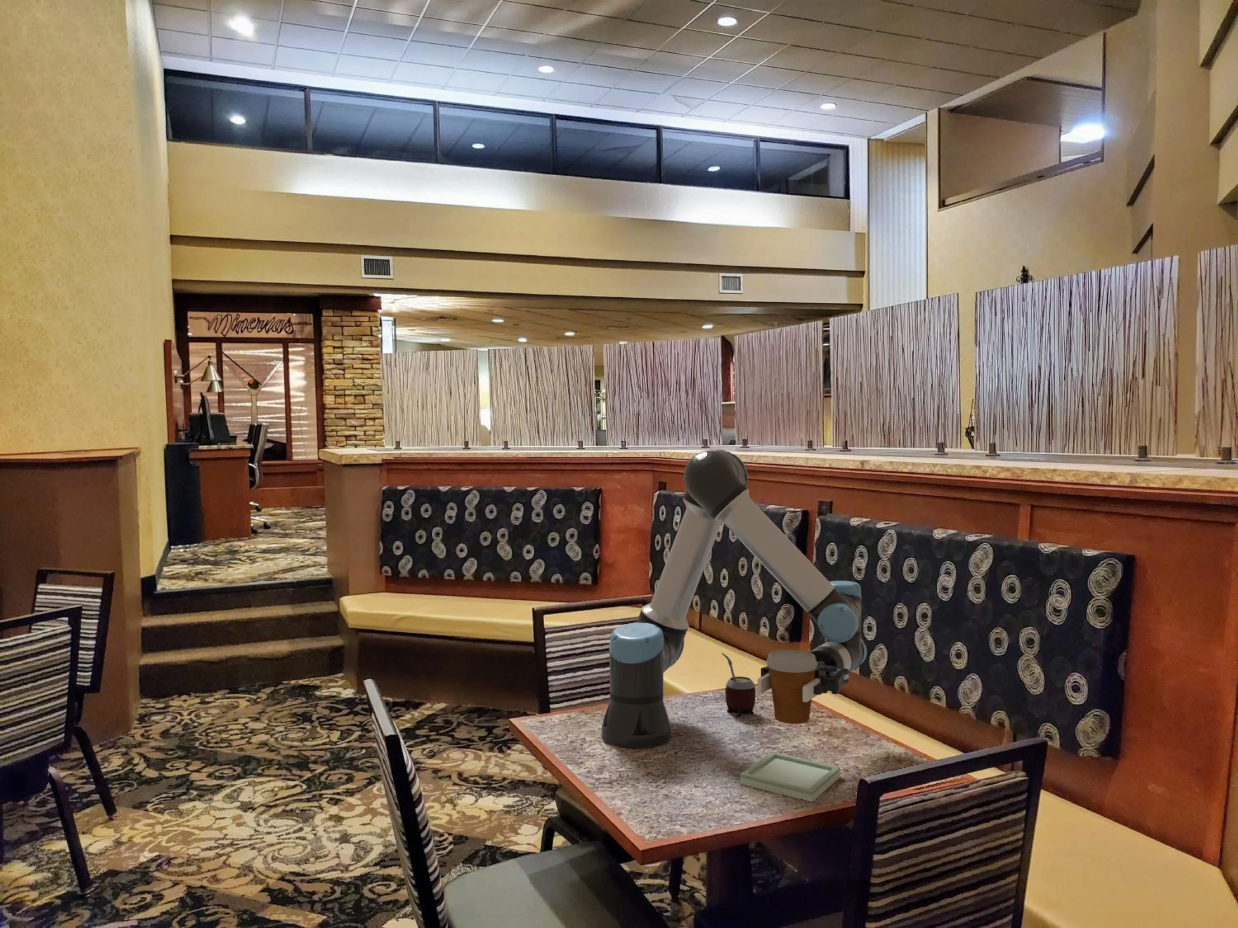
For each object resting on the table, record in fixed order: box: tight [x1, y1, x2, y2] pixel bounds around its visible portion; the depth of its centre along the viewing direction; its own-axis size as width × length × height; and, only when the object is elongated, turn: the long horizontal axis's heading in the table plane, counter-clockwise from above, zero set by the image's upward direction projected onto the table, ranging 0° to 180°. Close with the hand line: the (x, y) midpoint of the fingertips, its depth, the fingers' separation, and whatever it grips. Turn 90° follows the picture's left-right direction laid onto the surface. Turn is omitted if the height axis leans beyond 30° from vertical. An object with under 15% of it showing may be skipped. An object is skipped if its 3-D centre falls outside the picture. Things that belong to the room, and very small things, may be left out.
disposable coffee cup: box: [765, 649, 818, 725], centre depth 154 cm, size 10×10×12 cm
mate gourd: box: [721, 653, 756, 718], centre depth 194 cm, size 8×8×15 cm
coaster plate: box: [739, 751, 841, 803], centre depth 154 cm, size 14×14×2 cm
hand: (781, 690), depth 150 cm, fingers closed on disposable coffee cup, 8 cm apart
